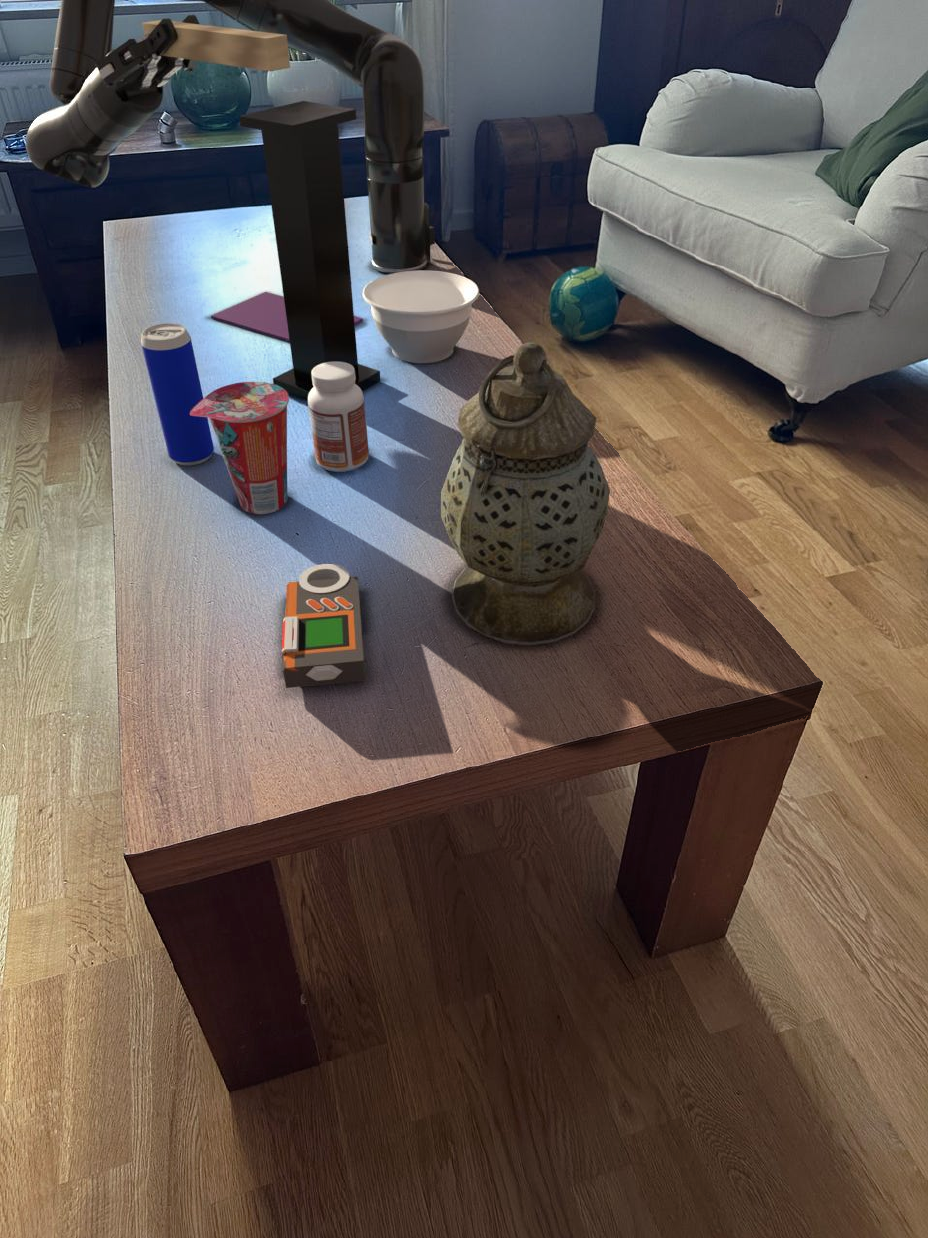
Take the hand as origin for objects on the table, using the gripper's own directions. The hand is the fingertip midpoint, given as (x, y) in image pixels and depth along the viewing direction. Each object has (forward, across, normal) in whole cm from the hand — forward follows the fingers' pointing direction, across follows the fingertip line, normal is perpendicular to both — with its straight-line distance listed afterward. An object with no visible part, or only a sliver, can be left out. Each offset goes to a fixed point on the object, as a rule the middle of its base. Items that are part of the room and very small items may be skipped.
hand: (184, 25), depth 99 cm
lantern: (+34, -23, +65) cm, 77 cm away
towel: (-23, +13, +32) cm, 41 cm away
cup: (+7, -26, +49) cm, 55 cm away
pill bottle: (+8, -14, +49) cm, 52 cm away
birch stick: (+2, 0, +5) cm, 5 cm away
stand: (-5, 0, +42) cm, 42 cm away
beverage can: (-5, -23, +42) cm, 48 cm away
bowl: (-2, +16, +44) cm, 47 cm away
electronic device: (+24, -37, +59) cm, 74 cm away
